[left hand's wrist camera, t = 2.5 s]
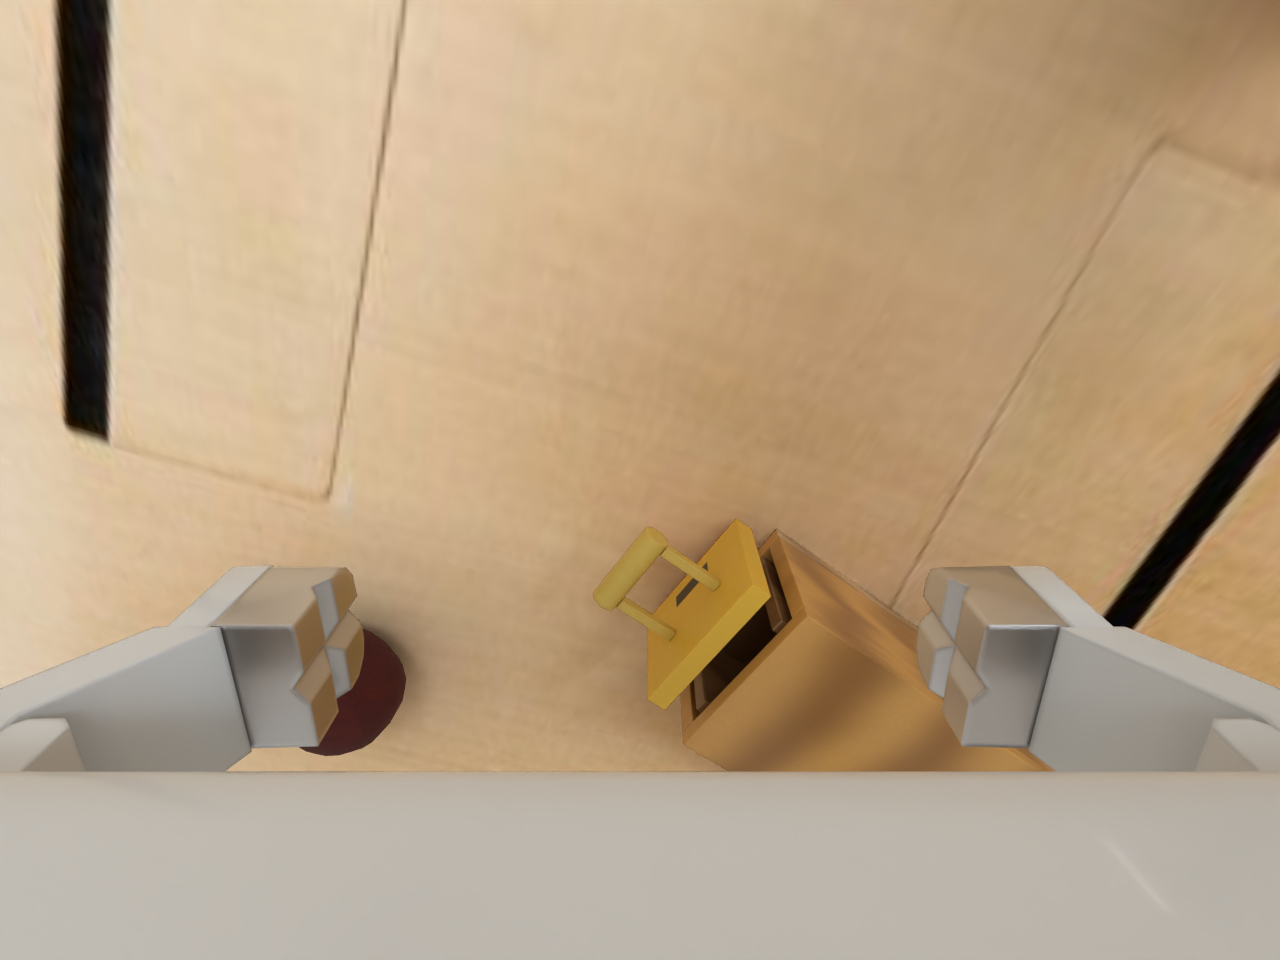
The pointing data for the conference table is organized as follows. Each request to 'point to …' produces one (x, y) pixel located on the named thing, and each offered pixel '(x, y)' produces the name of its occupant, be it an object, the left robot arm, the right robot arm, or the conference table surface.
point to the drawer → (701, 612)
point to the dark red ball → (366, 701)
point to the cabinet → (833, 690)
